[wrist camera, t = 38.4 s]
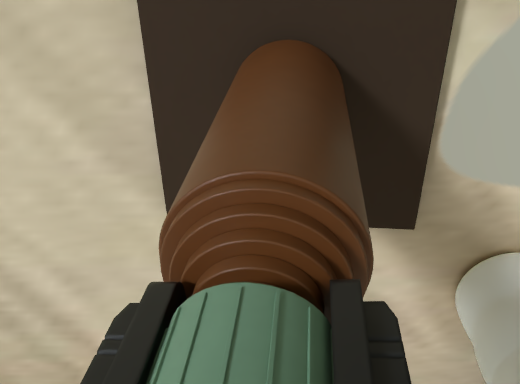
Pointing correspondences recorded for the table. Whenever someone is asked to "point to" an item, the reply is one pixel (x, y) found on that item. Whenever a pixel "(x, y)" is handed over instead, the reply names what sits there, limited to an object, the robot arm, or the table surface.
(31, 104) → the table surface
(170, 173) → the coaster
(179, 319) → the cap
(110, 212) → the table surface
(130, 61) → the table surface
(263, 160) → the bottle
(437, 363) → the table surface
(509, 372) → the water bottle
